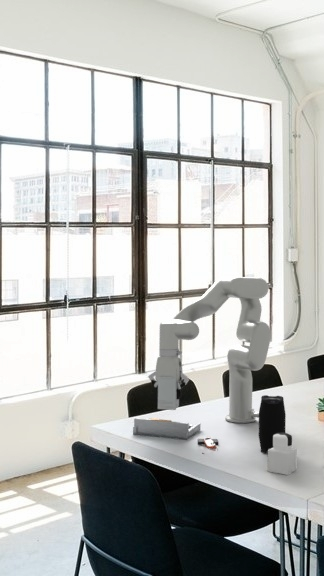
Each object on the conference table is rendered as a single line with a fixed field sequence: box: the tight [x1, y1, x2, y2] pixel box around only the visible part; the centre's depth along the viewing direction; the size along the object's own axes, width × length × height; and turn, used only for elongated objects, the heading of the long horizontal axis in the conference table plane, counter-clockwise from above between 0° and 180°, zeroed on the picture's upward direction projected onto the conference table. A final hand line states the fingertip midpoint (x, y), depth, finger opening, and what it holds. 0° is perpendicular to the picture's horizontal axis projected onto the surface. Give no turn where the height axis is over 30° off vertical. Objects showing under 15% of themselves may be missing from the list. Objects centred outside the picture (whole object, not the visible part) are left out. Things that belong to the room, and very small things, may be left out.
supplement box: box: [157, 377, 180, 411], centre depth 277 cm, size 7×7×13 cm
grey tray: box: [132, 417, 201, 441], centre depth 276 cm, size 22×16×6 cm
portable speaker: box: [258, 395, 287, 454], centre depth 249 cm, size 9×9×20 cm
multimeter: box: [197, 436, 219, 455], centre depth 254 cm, size 18×12×3 cm, turn 174°
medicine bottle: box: [267, 432, 298, 476], centre depth 228 cm, size 7×7×12 cm
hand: (168, 397), depth 277 cm, fingers closed on supplement box, 8 cm apart
